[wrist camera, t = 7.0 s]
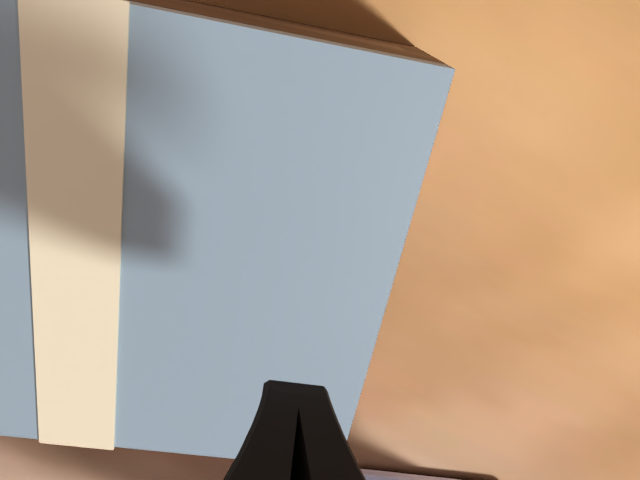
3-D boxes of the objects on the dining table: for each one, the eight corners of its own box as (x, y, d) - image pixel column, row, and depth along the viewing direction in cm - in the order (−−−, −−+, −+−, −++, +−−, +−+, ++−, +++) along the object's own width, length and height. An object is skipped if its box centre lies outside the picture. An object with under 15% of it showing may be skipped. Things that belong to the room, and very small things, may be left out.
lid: (336, 452, 20) (338, 472, 19) (-5, 417, 18) (-19, 437, 17) (447, 62, 14) (457, 68, 13) (-48, -38, 12) (-72, -39, 11)
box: (331, 378, 23) (336, 450, 20) (47, 341, 22) (-2, 412, 18) (416, 47, 17) (446, 64, 14) (34, -31, 16) (-43, -35, 12)
